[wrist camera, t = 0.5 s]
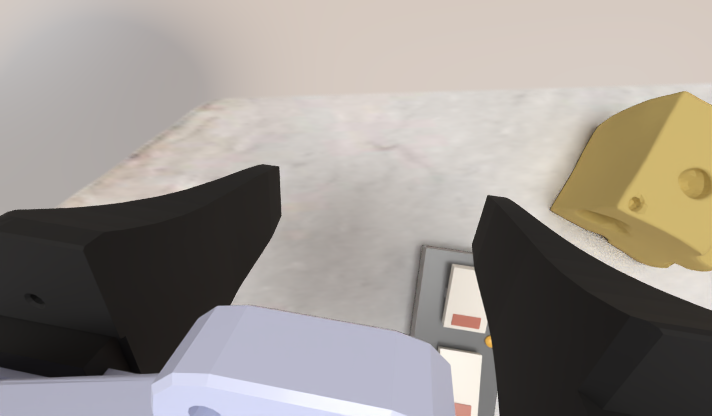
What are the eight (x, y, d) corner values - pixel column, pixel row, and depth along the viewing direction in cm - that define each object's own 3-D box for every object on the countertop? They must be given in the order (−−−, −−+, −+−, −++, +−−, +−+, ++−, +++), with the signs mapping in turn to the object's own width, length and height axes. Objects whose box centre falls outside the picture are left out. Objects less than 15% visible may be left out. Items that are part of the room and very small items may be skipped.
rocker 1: (481, 327, 31) (485, 334, 29) (441, 321, 31) (443, 327, 30) (493, 269, 30) (497, 274, 29) (452, 263, 30) (454, 267, 29)
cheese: (639, 264, 33) (752, 285, 23) (540, 209, 34) (608, 206, 24) (694, 172, 33) (832, 153, 23) (593, 118, 34) (684, 77, 24)
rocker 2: (473, 419, 29) (477, 424, 28) (431, 411, 30) (434, 416, 29) (478, 352, 31) (482, 355, 29) (438, 346, 31) (440, 348, 30)
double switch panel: (483, 407, 34) (497, 431, 30) (401, 392, 34) (404, 414, 30) (504, 257, 34) (519, 262, 30) (422, 245, 34) (427, 248, 31)
